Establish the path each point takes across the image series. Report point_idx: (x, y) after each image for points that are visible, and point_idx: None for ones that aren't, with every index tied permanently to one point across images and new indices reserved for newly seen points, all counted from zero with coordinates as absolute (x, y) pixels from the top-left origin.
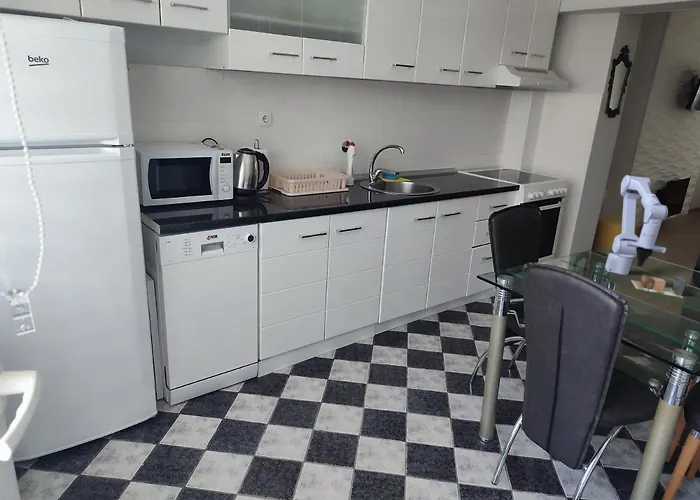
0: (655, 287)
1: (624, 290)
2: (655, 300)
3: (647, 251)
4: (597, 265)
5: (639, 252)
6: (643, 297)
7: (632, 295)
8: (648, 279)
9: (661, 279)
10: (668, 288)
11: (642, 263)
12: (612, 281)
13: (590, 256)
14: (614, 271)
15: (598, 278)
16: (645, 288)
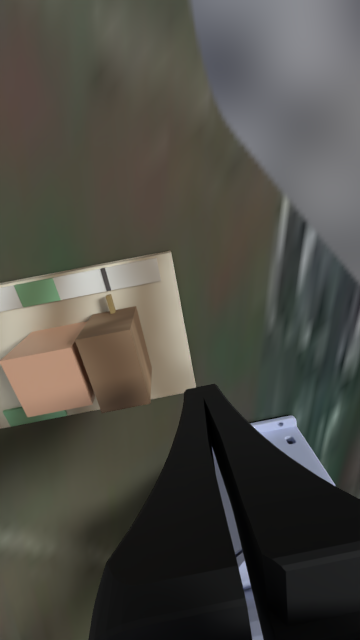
0: (69, 328)
1: (228, 213)
2: (51, 158)
3: (217, 609)
4: None
5: (351, 504)
6: (122, 159)
7: (186, 142)
8: (111, 330)
9: (35, 400)
10: (16, 404)
11: (190, 407)
12: (278, 327)
13: None
14: (270, 440)
15: (345, 319)
16: (121, 302)
